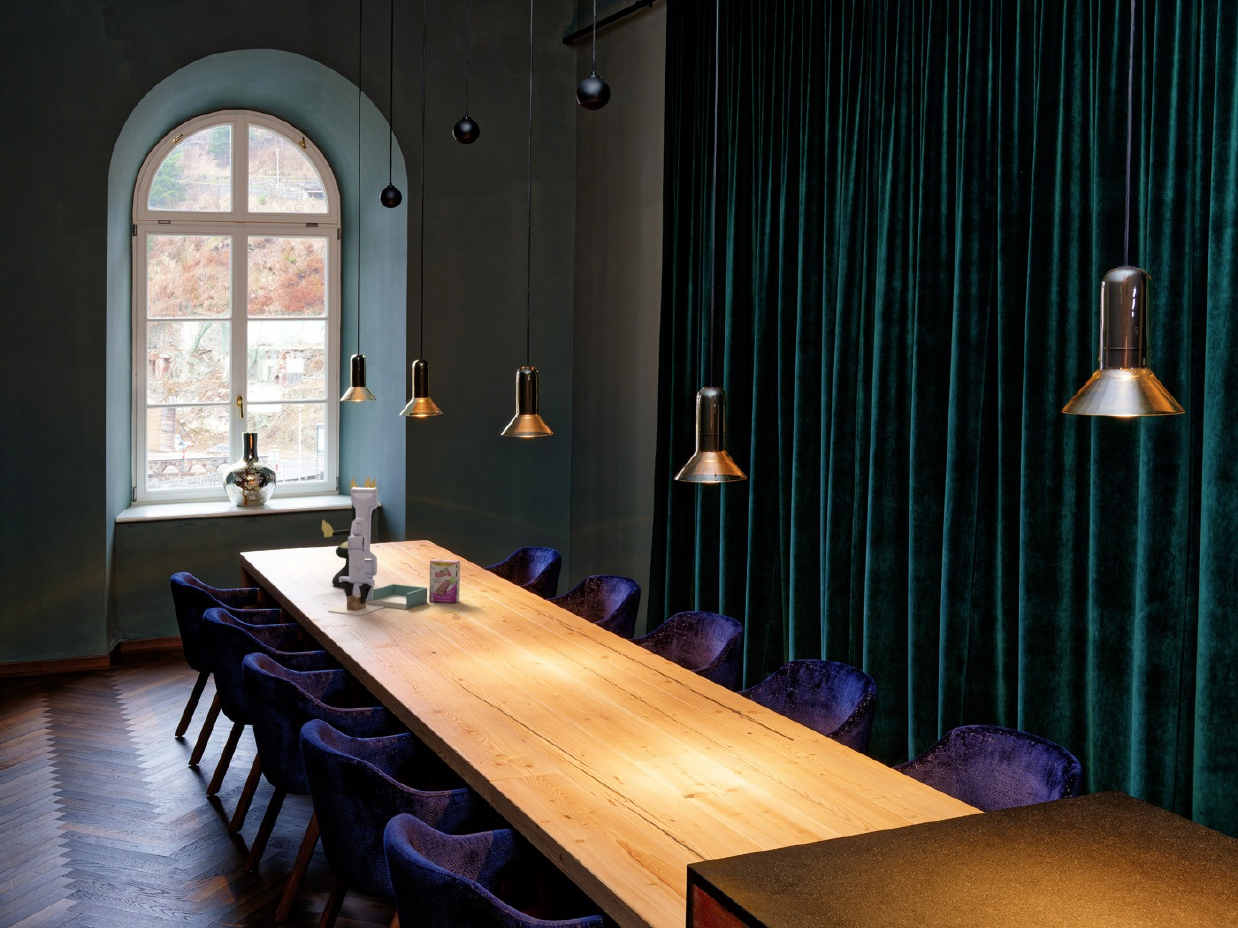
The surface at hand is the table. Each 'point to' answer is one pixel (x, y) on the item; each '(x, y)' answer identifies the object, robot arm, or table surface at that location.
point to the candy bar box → (444, 581)
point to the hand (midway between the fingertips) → (356, 602)
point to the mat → (360, 612)
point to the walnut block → (355, 602)
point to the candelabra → (343, 548)
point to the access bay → (400, 596)
